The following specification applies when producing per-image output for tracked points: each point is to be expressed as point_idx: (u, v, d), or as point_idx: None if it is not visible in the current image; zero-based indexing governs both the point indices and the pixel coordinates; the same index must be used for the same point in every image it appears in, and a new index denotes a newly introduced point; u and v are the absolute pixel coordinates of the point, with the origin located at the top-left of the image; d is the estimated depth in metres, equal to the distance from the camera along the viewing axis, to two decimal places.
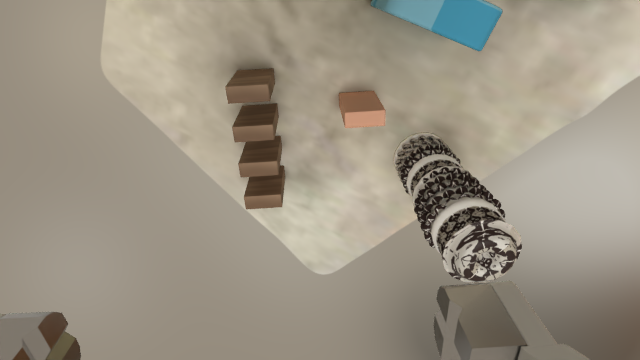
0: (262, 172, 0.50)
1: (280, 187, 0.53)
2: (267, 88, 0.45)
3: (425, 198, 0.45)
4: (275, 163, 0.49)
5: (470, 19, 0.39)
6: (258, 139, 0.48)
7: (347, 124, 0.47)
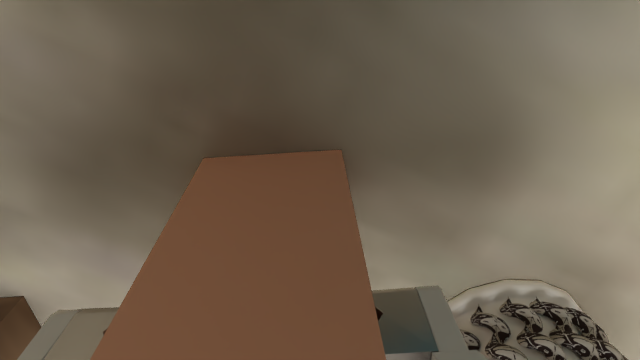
0: None
1: None
2: None
3: None
4: None
5: None
6: None
7: None
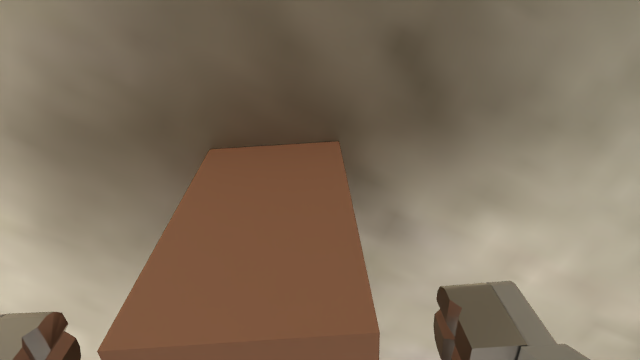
0: None
1: None
2: None
3: None
4: None
5: None
6: None
7: None
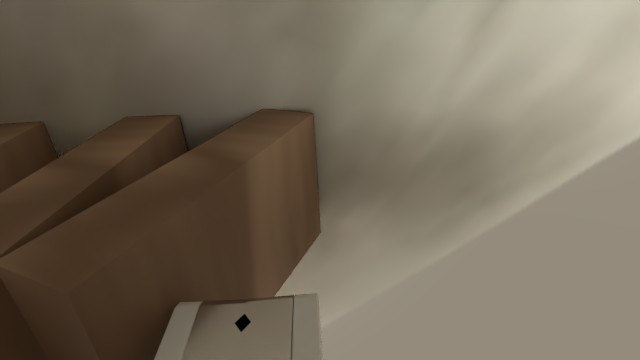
0: None
1: None
2: None
3: None
4: None
5: None
6: None
7: None
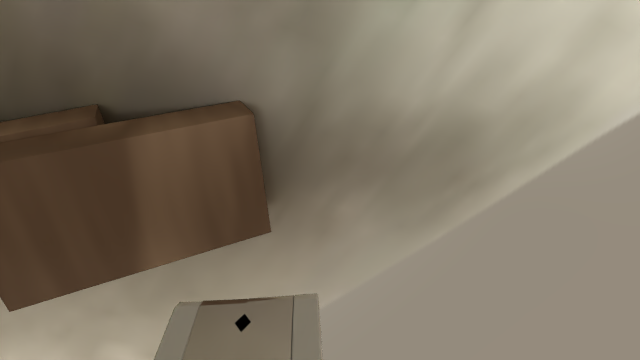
0: None
1: None
2: None
3: None
4: None
5: None
6: None
7: None
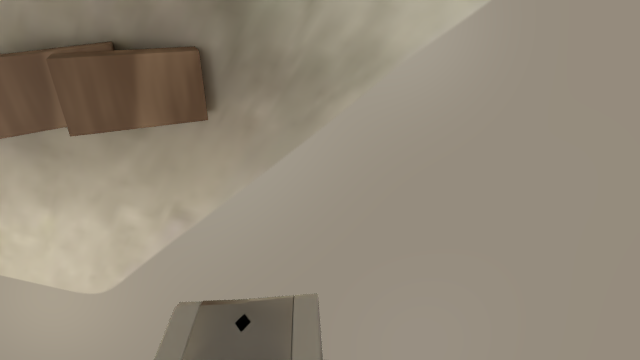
0: None
1: None
2: None
3: None
4: None
5: None
6: None
7: None
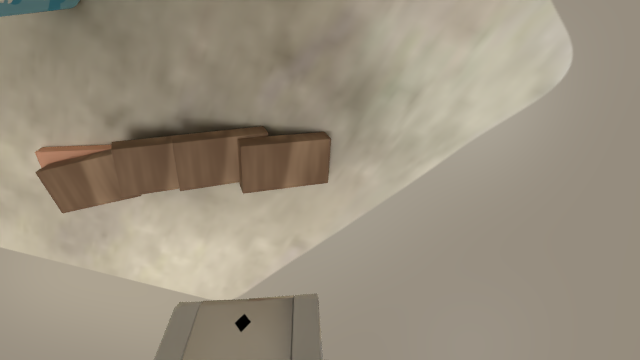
0: (175, 161, 0.36)
1: None
2: (46, 166, 0.40)
3: None
4: None
5: None
6: None
7: None
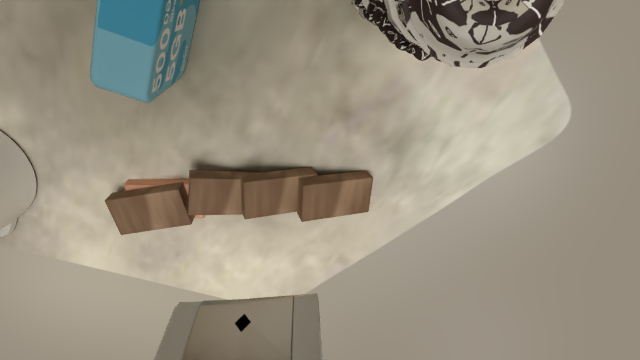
0: (243, 195, 0.45)
1: None
2: (111, 195, 0.47)
3: None
4: None
5: None
6: (189, 192, 0.44)
7: None
